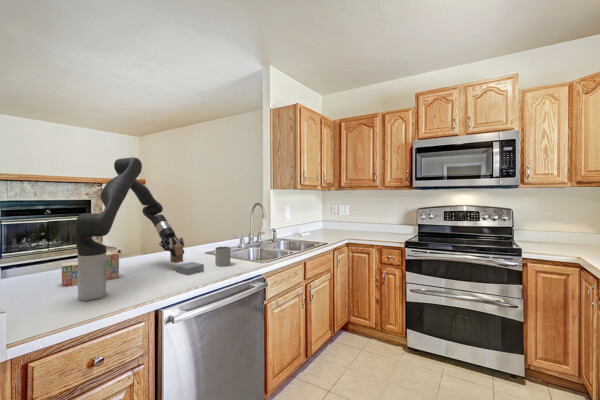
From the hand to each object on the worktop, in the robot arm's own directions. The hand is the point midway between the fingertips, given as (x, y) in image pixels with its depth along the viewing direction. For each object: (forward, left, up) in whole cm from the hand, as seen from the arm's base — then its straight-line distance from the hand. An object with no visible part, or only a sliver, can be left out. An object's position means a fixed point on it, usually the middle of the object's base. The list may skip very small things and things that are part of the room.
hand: (179, 254), depth 158 cm
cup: (-3, -24, -8) cm, 25 cm away
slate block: (-8, -4, -9) cm, 12 cm away
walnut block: (+2, +1, -4) cm, 5 cm away
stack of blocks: (+1, +39, -9) cm, 40 cm away
